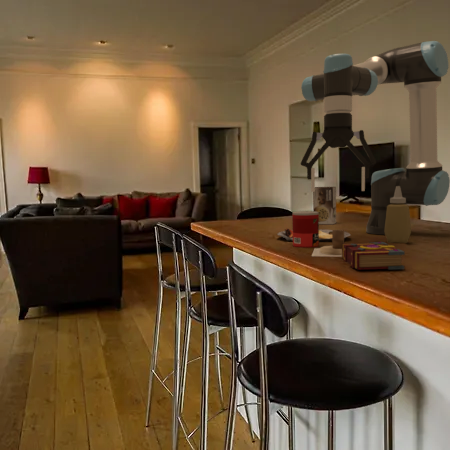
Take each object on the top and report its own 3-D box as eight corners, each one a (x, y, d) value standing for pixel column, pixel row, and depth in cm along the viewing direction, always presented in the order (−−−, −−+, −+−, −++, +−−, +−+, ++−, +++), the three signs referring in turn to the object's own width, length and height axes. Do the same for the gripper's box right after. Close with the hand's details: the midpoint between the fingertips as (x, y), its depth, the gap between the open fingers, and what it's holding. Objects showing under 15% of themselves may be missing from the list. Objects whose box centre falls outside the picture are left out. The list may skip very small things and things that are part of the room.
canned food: (318, 249, 152) (318, 213, 151) (291, 249, 154) (291, 213, 153) (319, 245, 160) (318, 210, 159) (293, 245, 161) (293, 211, 160)
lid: (356, 249, 147) (356, 228, 146) (356, 255, 137) (357, 232, 136) (321, 249, 149) (320, 228, 148) (319, 255, 139) (319, 232, 139)
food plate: (266, 236, 183) (266, 227, 183) (322, 233, 192) (322, 223, 191) (302, 247, 160) (302, 236, 160) (363, 243, 169) (363, 232, 168)
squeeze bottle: (397, 245, 156) (398, 187, 154) (378, 242, 163) (379, 186, 161) (416, 243, 159) (417, 186, 157) (397, 240, 166) (397, 185, 165)
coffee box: (336, 223, 224) (336, 186, 222) (333, 224, 218) (333, 187, 216) (316, 222, 228) (316, 186, 226) (312, 224, 222) (312, 187, 220)
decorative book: (356, 271, 119) (356, 250, 118) (339, 259, 135) (339, 240, 134) (404, 270, 119) (405, 249, 118) (382, 257, 135) (382, 239, 134)
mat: (363, 250, 148) (363, 248, 148) (364, 259, 135) (364, 256, 135) (314, 250, 151) (314, 248, 151) (311, 258, 138) (311, 256, 138)
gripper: (384, 112, 140) (383, 190, 142) (293, 116, 145) (294, 191, 148) (386, 109, 132) (385, 191, 135) (290, 114, 138) (291, 192, 140)
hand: (337, 191), depth 141 cm, fingers open, 13 cm apart
